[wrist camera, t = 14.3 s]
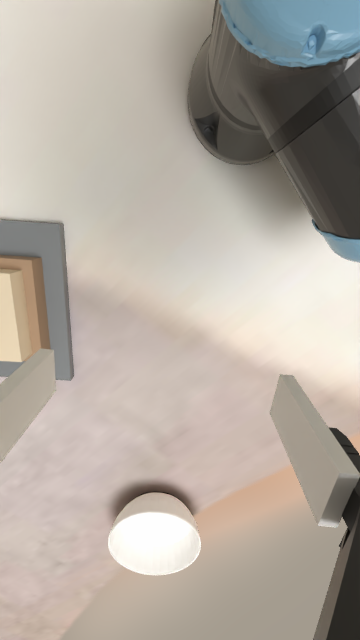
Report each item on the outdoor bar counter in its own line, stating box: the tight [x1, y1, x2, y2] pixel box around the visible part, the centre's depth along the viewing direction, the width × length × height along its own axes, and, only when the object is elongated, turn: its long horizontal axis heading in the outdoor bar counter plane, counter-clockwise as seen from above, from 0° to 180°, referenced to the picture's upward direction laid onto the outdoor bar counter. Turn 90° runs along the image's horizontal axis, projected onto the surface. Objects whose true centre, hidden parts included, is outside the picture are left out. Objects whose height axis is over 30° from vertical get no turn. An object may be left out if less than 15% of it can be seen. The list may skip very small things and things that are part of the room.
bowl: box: [108, 493, 201, 575], centre depth 57 cm, size 18×18×7 cm
